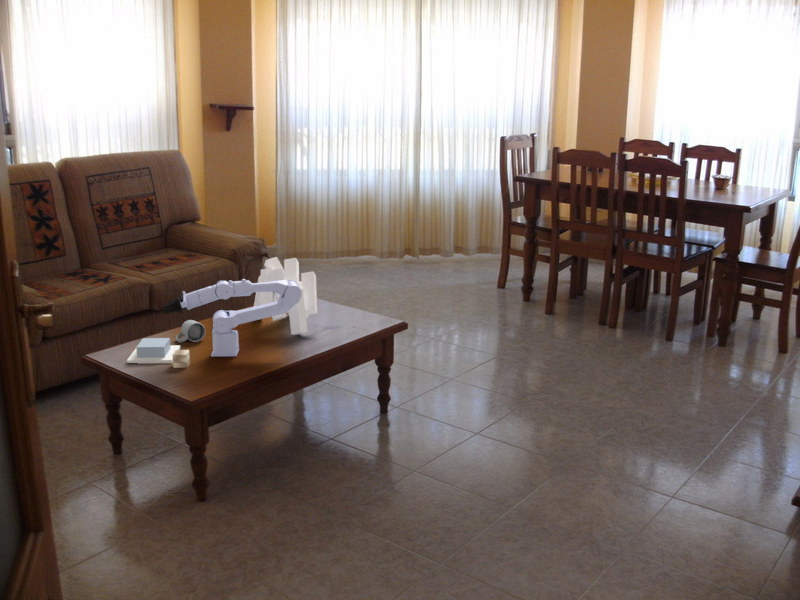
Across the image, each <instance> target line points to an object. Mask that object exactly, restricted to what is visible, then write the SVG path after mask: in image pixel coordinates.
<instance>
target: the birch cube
mask: <svg viewBox="0 0 800 600" xmlns="http://www.w3.org/2000/svg"><path fill="white" fill-rule="evenodd" d="M190 358H191V357H190V349H180V350H175V351H174V353H173V362H172V367H173V368H174V369H175V368H176V369H177V368H178V369H179V368H183V369H185V368H189V366H190V363H191V359H190Z"/></svg>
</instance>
